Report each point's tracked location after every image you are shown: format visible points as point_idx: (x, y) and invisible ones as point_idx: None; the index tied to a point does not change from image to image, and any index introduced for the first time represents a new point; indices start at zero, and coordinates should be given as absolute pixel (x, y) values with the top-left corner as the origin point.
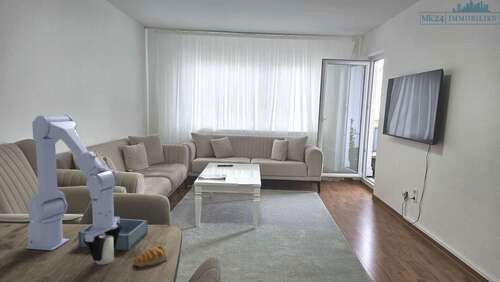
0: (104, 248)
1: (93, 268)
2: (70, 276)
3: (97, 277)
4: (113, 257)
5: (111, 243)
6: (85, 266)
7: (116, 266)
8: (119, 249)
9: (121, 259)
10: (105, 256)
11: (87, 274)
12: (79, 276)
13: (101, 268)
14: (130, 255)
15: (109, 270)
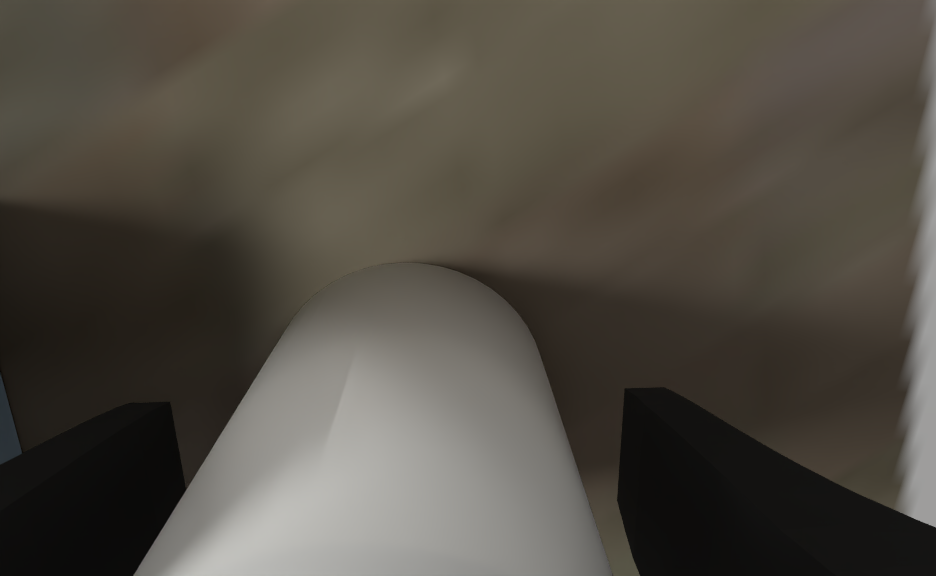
0: (574, 493)
1: None
2: None
3: (925, 199)
4: (366, 282)
5: (400, 445)
6: (620, 543)
7: (571, 86)
8: (1, 380)
9: (318, 139)
10: (538, 374)
11: (833, 391)
12: (883, 459)
13: (657, 299)
14: (127, 47)
15: (712, 133)
